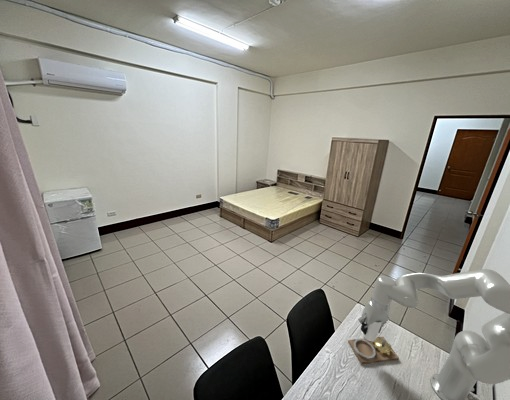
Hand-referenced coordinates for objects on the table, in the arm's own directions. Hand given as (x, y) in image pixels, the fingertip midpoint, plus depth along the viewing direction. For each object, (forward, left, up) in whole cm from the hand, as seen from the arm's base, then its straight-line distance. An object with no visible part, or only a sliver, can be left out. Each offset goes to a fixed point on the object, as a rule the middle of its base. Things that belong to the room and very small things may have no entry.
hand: (369, 330), depth 102 cm
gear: (-10, 0, -13) cm, 16 cm away
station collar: (0, 0, -13) cm, 13 cm away
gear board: (-5, 0, -14) cm, 15 cm away
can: (0, 0, -3) cm, 3 cm away
